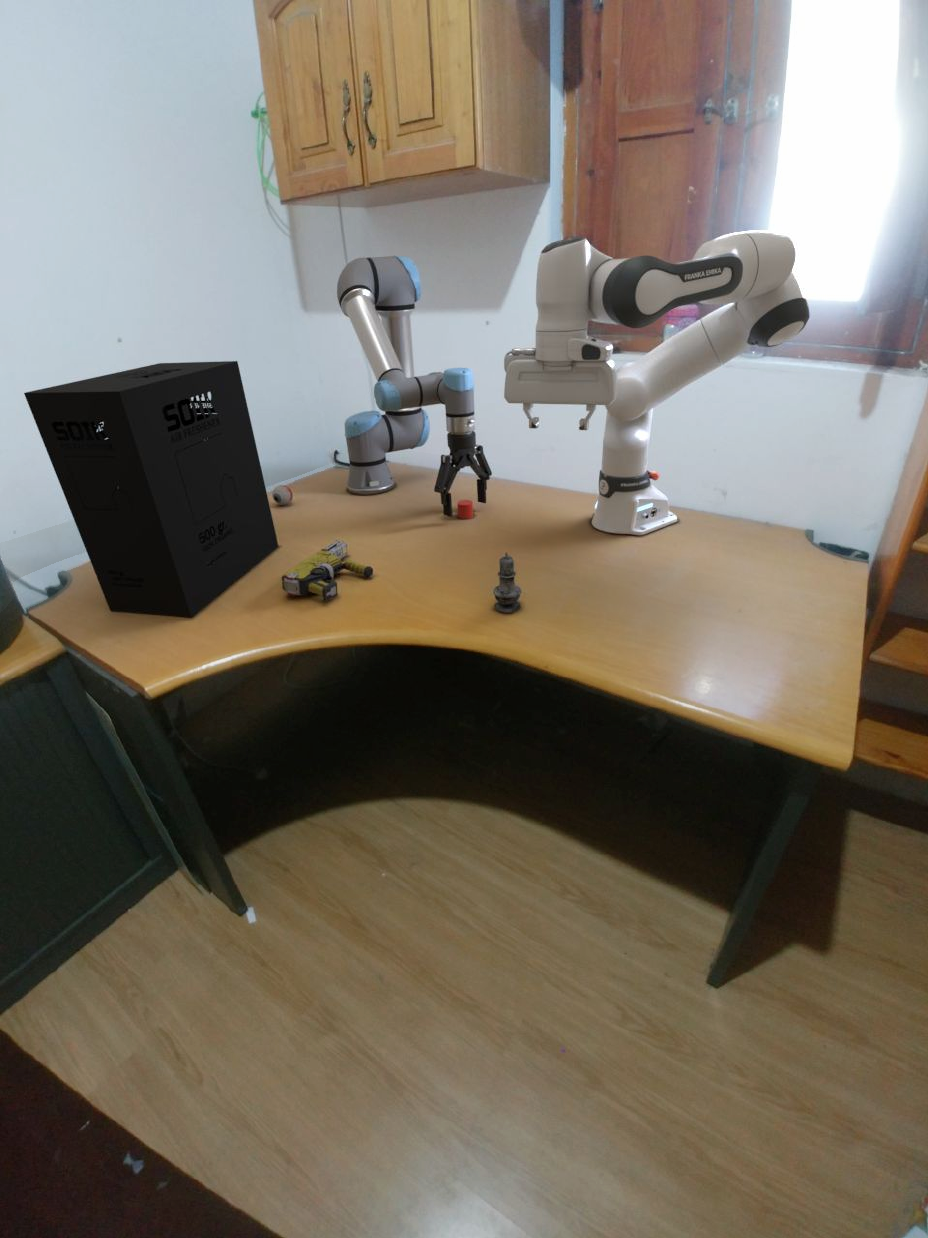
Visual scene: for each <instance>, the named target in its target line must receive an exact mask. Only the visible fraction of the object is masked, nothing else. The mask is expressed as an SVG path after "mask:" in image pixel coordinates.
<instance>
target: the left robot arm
mask: <svg viewBox="0 0 928 1238" xmlns="http://www.w3.org/2000/svg"><path fill="white" fill-rule="evenodd" d="M421 294H422V282H421V277H420V272H419V269H418V267H417V266H416V264H415V262H414V261H413V260H412V258H410V257H408V256H406V255H405V256H403V255H389V256H372V257H371V256H370V257H357V258H354V259H353V260H350V261H349V262H348V263H347V264H346V265H345V266H344V267H343V269H342V271H341V272H340V274H339V276H338V280H337V285H336V297H337V301H338V305H339V307H340V310H341V311H342V314H343V315H344V316H345V317H347V318H349V321H350V323H351V325H352V327H353V329H354V332H355V334H356V336H357V339H358V342H359V343H360V346H361V348H362V350H363V352H364V355H365V357H366V359H367V362H368V364H369V366H370V368H371V370H372V372H373V375H374V377H375V380H376V382H375V384H374V386H373V396H374V397H373V398H374V399H375V404H376V406H377V408H378V409H379V410H380V411H382V412H384V414H382V413H381V412H380V411H378V410H365V411H361V412H357V413H354V414H353V415H350V416H349V417H347V418H346V419H345V421H344V437H345V442H346V448H347V454H348V455H347V456H348V461H349V462H344V461H340V460H338V459H337V454H339V451H338V450H337V449H335V450H334V451H333V460H334V461H335V462H336V463H337V464H339V465H343V466H349V471H348V476H347V482H346V487H347V491H348V492H349V493H350V494H353V495H359V496H371V495H379V494H384V493H385V492H389V491H391V490H392V489H394V488H395V478H394V477H393V475H392V471H391V470H390V467H389V466H388V463H387V458H386V454H387V453H394V452H400V451H405V450H413V449H416V448H419V447H423V446H424V445H425V444H426V443H427V441H428V439H429V436H430V431H431V429H430V428H431V425H430V419H429V415H428V413H427V411H426V410H425V409H423V408H422V407H427V406H435V405H444V408H445V423H446V432H447V434H446V439H447V447H448V449H449V454H441V455H440V465H439V468H438V473H437V477H436V480H435V484H434V488H433V492H435V493H437V494H440V504H441V505H442V511H443V516H445V517H449V518H452V517H453V503H452V502H453V501H452V493H451V492H450V490H451V488H452V486H453V483H454V481H455V480H456V476H457V475H458V473H459V472H460V471H461V469H465V468H466V467H470V469H471V470H472V471H473V473H475V475H476V476H477V477H478V478H477V479H476V492H477V493H476V494H477V495H476V496H477V503H480V504H487V490H488V481H489V480H490V479H491V476H492V475H493V472H492V469H491V467H490V465H489V462H488V460H487V458H486V455H485V453H484V446H483V445H480V444H477V438H476V437H477V435H476V432H475V430H476V417H475V416H476V415H475V383H474V382H475V381H474V377H473V371H472V369H470V368H468V367H452V368H446V369H444V371H443V372H442V371H437V372H436V371H432V372H429V373H428V374H426V375H425V374H424V375H417V376H416V375H415V365H414V349H413V336H412V323H411V321H412V320H411V315H412V314H413V312H414V311H415V310H416V306H415V303H417V302H418V301H419V300H421Z"/></svg>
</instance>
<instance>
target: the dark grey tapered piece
mask: <svg viewBox="0 0 928 1238" xmlns="http://www.w3.org/2000/svg"><path fill="white" fill-rule="evenodd" d="M498 562H499V564H498V565H499V566H498V567H499V571H498V572H497V576H498V577H499V578H498V579H499V583H498V585H497V586H495V587H494V588H492V594H493V595H494V598H495V600H496V601H497V602H495V603H494V609H495V610H496V611H497V612H500V613H515V612H517V611H519V609H520V608H521V603H520V602H518V601H519V600H520V597H521V594H522V591H523V590H522V588H521V587H520V586H519V585H516V581H515V577H516V575H517V572H516V571H515V560H514V557H512V556H511V555H509V553H508V552H505V553H504V556H501V557H500V558H499V561H498Z"/></svg>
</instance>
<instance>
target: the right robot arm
mask: <svg viewBox="0 0 928 1238" xmlns="http://www.w3.org/2000/svg"><path fill="white" fill-rule="evenodd" d="M797 253H798V252H797V247H796V244H795V241H794V240H793V239H792V237H791V236H789V235H788V234H787V233H785V232H782V231H777V230H765V229H764V230H746V231H738V232H733V233H729V234H724V235H720V236H719V237H715V238H712V239H710V240H708V241H706V242H704V243H702V244H701V245H700V246H699V247H698V249H697V250H696V252H695V254H694V256H693V258H692V259H689V260H686V261H681V262H676V263H671V262H668V261H665V260H663V259H661V258H659V257H656V256H653V255H639V256H634V257H627V258H613V257H612V256H610V255H607V254H605V253H603V252H601V251H600V250H598V249H596V248H595V247H594V246H593V245H591V244H590V242H589V241H588V239H587V238H586V237H583V236H573V237H568V238H564V239H560V240H557V241H553V242H551V243H548V244H546V246H544V248H543V249H542V250H541V251H540V254H539V258H538V261H537V262H538V263H537V269H536V271H537V272H536V281H535V282H536V284H535V304H536V309H537V321H536V325H535V341H534V342H535V346H534V347H526V348H518V347H516V348H515V347H514V348H512V349H511V350H510V351H508V352H506V354H505V355H504V357H503V369H504V372H505V379H504V389H503V397H504V398H503V399H505V401H506V402H507V403H508V404H522V410H523V412H524V415H525V416H526V418H527V419H528V428H529V429H532V430H533V429H538V428H539V426H540V423H539V422H540V417H539V416H538V417H537V416H535V414H534V412H533V411H532V409H533V408H534V405H579V406H580V405H582V406H583V405H585V411H586V412H587V415H586V416H585V418H580V419H579V423H578V424H579V427H578V430H579V431H588V430H589V429H590V419H591V418H592V416H593V415H594V413H595V411H596V410H597V406H604V407H605V409H606V417H605V426H604V432H603V433H604V434H603V440H602V453H601V468H600V470H599V474H598V492H599V493H598V498H597V501H596V503H595V505H594V509H595V511H594V514H593V517H592V520H591V525H592V526H593V527H594V528H595V529H597V530H599V531H601V532H605V533H611V534H623V535H625V534H626V535H632V536H633V535H634V536H645V535H646V534H650V533H652V532H654V531H657V530H660V529H662V528H665V527H668V526H670V525H672V524H675V523H677V522H678V516H677V515H676V514H675V513H674V512H672V511H670V503H669V502H670V501H669V498H668V497H667V496H666V495H665V494H664V493H663V492H661V491H660V490H659V489H658V488H656V487H655V486H654V485H652V483H651V480H653V481H658V479H659V478H660V473H659V472H657V471H654V470H651V471H649V470H648V469H647V466H648V458H649V457H648V456H649V446H650V440H651V432H652V431H651V430H652V421H653V413H654V409H655V408H656V407H657V406H659V405H660V404H662V403H663V402H665V401H667V400H668V399H669V398H671V397H673V396H674V395H675V394H677V393H678V392H680V391H681V390H682V389H684V388H685V387H687V386H689V385H690V384H692V383H694V382H695V381H697V380H699V379H701V378H702V377H704V376H706V375H707V374H709V373H711V372H713V371H715V370H716V369H718V368H720V367H721V366H723V365H725V364H727V363H729V362H730V361H732V360H733V359H735V358H736V357H737V356H739V355H740V354H742V353H743V352H744V351H746V350H747V349H749V348H750V347H751V346H758V347H760V348H773V347H774V348H775V347H777V346H780V345H782V344H784V343H786V342H788V341H789V340H791V339H793V338H794V337H796V336H797V335H798V334H799V333H800V332H801V331H803V330H804V329H805V327H806V325H807V323H808V321H809V320H810V315H811V314H810V308H809V303H808V299H806V298H805V296H804V293H803V290H802V286H801V284H800V282H799V279H798V277H797V275H796V274H797V273H796V272H795V270H794V269H795V267H796V263H797ZM696 303H699V304H701V305H723V306H721V307H719V308H716V309H715V310H713V311H712V312H710V313H707V314H706V315H704V316H702V317H701V318H700V319H698V320H696V321H694V322H693V323H692V324H690V325H688V326H687V327H685V328H683V329H682V330H680V331H679V332H677V333H675V334H674V335H671V336H670V337H669V338H667V339H666V340H664V341H663V342H662V343H660V344H659V345H657V346H656V347H654V348H653V349H651V350H650V351H649V352H647V353H646V354H644V355H642V356H641V357H640V358H638V359H637V360H635V361H631V362H627V363H625V364H622V365H621V366H620V367H618V368H617V365H616V363H615V361H614V360H613V359H612V358H611V357H612V355H613V352H614V346H613V344H612V343H611V342H608V341H605V340H602V339H600V338H596V337H594V336H590V335H588V324H589V322H590V321H592V322H594V323H595V322H596V323H601V324H609V325H617V326H618V325H619V326H623V327H626V328H630V329H642V328H646V327H648V326H650V325H652V324H653V323H655V322H656V321H658V320H659V319H661V318H662V317H663V316H664V315H665V314H667V313H669V312H670V311H672V310H673V309H677V308H679V307H683V306H687V305H692V304H696Z"/></svg>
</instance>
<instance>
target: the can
mask: <svg viewBox="0 0 928 1238" xmlns="http://www.w3.org/2000/svg"><path fill="white" fill-rule="evenodd" d="M456 507H457V518H459V519H461V520H468V519H471V518H473V517H474V504H473V501H472V500H471V499H461V500H458V501H457V502H456Z"/></svg>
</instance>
